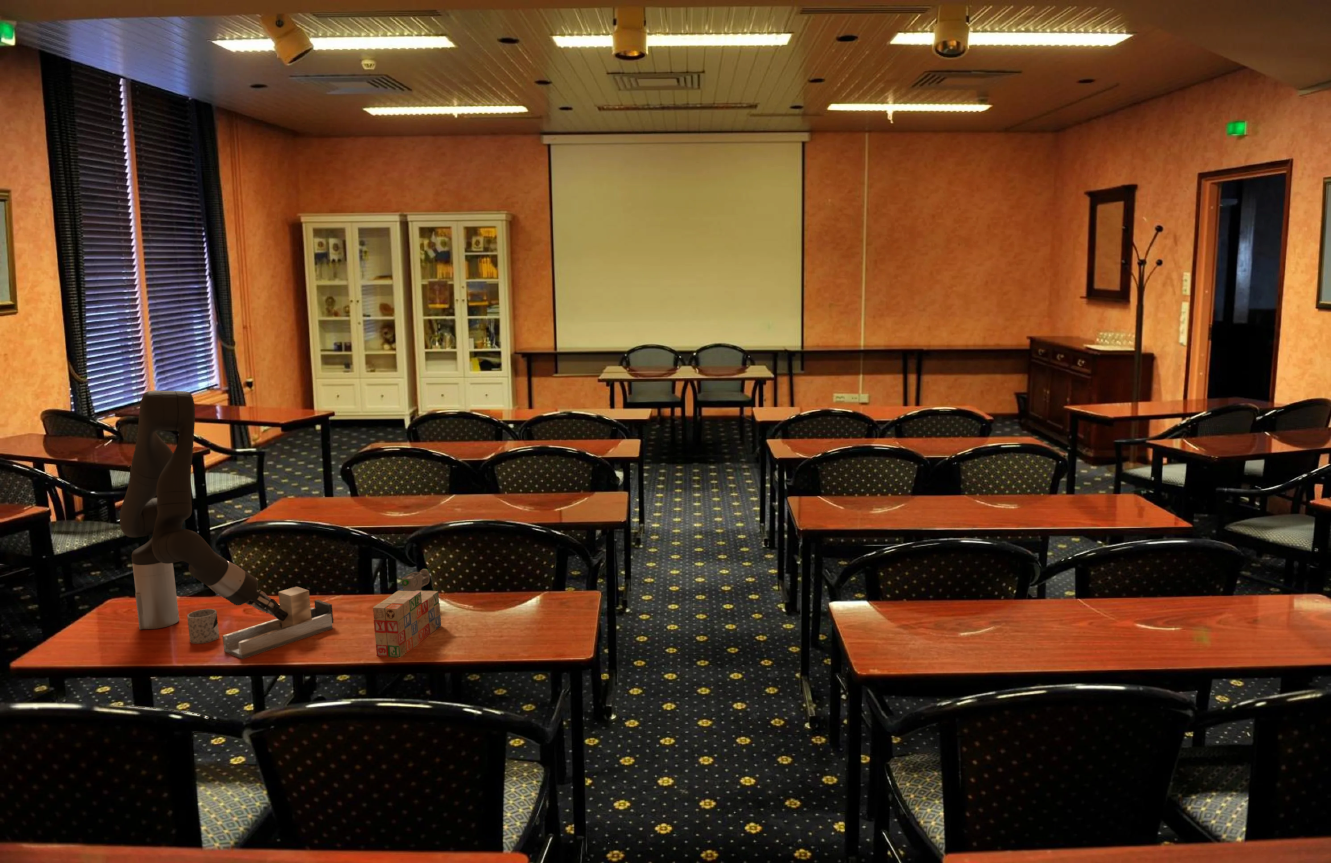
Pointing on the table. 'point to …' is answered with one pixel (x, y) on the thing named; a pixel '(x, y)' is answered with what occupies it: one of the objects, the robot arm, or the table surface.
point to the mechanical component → (416, 580)
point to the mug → (203, 626)
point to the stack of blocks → (405, 621)
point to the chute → (277, 633)
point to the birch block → (295, 605)
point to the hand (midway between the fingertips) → (284, 617)
